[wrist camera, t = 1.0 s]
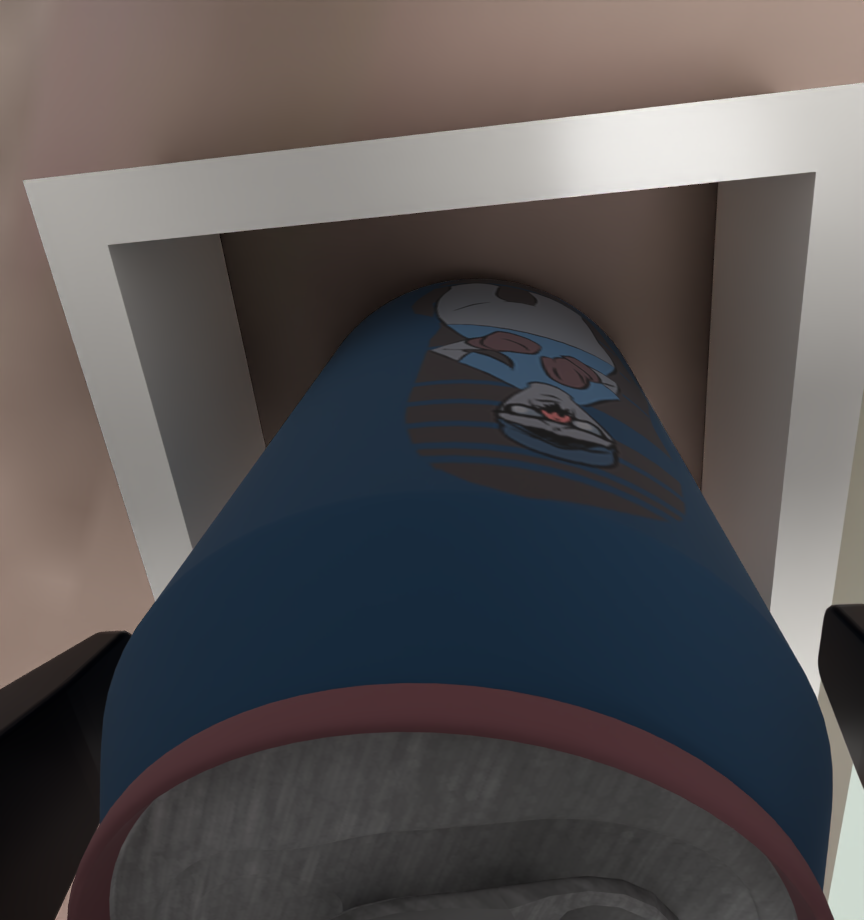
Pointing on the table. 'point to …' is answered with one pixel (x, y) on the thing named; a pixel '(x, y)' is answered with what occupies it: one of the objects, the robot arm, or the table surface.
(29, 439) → the table surface
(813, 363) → the pale square open box
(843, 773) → the tray
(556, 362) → the soda can
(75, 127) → the table surface
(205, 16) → the table surface
